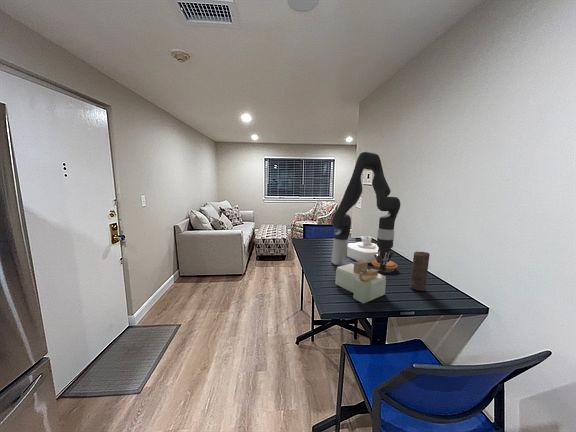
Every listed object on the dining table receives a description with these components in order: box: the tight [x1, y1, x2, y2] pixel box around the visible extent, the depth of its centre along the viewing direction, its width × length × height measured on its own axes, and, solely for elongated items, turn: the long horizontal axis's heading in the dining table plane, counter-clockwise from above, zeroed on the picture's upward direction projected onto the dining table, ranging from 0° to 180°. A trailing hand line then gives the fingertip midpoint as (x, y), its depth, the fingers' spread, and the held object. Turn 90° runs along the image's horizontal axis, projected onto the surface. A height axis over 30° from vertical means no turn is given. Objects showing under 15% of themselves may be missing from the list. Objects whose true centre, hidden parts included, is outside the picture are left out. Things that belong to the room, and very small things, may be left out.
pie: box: [371, 260, 398, 273], centre depth 160 cm, size 16×16×5 cm
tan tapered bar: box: [359, 268, 379, 281], centre depth 120 cm, size 3×10×4 cm, turn 126°
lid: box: [336, 260, 386, 284], centre depth 129 cm, size 22×11×6 cm, turn 36°
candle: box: [409, 251, 430, 291], centre depth 131 cm, size 8×7×20 cm
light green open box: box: [334, 269, 387, 305], centre depth 129 cm, size 22×16×10 cm
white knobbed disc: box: [347, 235, 379, 264], centre depth 184 cm, size 25×25×16 cm
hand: (382, 270), depth 127 cm, fingers closed
